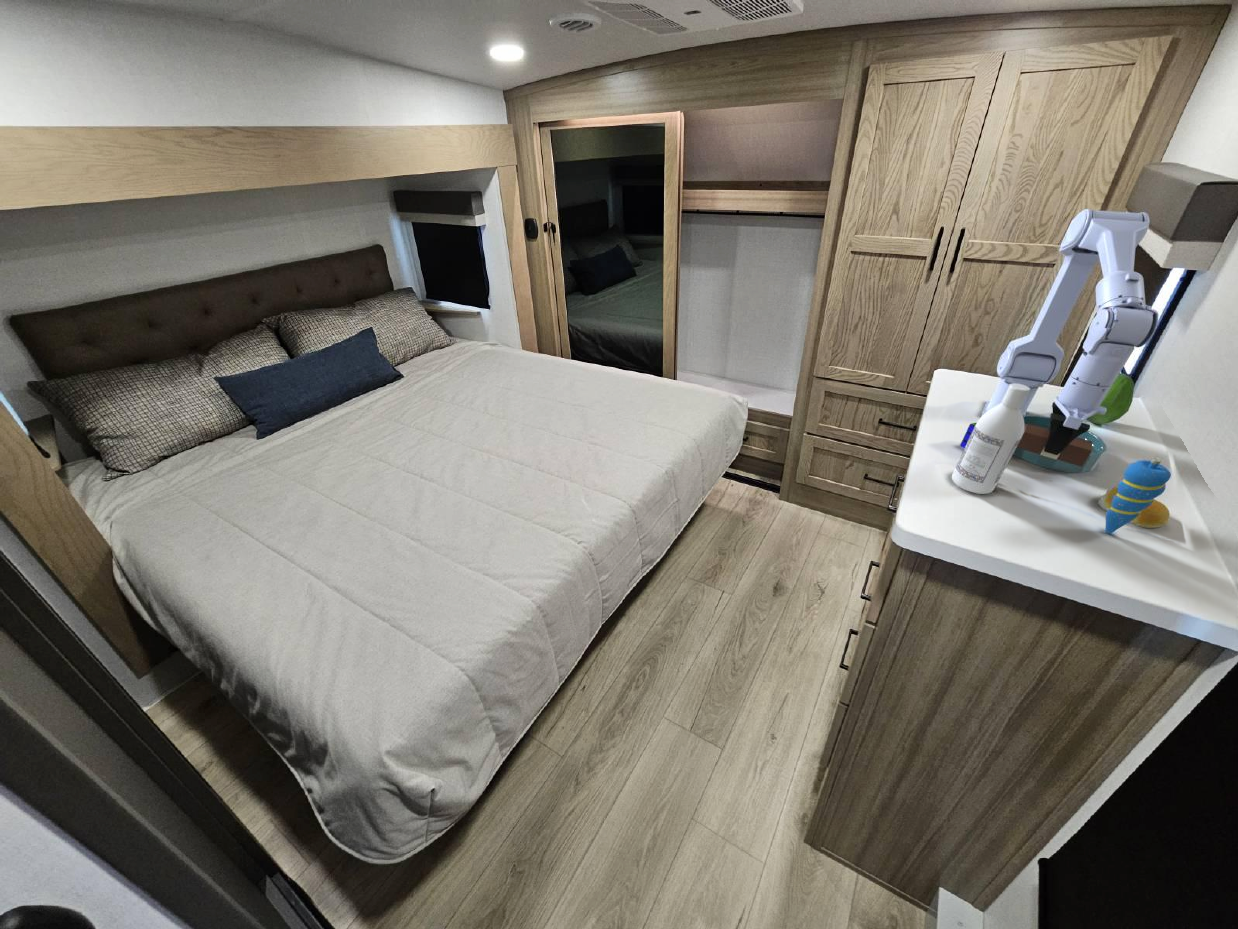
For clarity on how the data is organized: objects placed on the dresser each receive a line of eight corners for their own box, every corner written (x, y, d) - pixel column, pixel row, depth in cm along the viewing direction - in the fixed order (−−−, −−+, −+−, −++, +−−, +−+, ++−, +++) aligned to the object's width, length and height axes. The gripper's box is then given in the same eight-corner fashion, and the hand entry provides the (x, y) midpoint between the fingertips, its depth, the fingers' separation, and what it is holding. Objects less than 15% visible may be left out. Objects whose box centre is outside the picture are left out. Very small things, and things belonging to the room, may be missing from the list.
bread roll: (1159, 537, 85) (1174, 518, 82) (1092, 510, 90) (1105, 492, 88) (1167, 516, 89) (1182, 498, 87) (1103, 492, 95) (1115, 475, 93)
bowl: (1004, 425, 116) (1013, 407, 113) (1094, 450, 107) (1106, 431, 105) (994, 454, 105) (1004, 436, 103) (1093, 485, 97) (1106, 465, 94)
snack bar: (1016, 447, 96) (1024, 431, 94) (1018, 438, 99) (1026, 423, 97) (1082, 467, 91) (1092, 450, 89) (1082, 457, 94) (1092, 441, 92)
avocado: (1097, 432, 114) (1128, 382, 107) (1065, 415, 120) (1092, 367, 114) (1125, 428, 116) (1157, 379, 109) (1091, 412, 122) (1120, 365, 115)
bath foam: (979, 473, 99) (1027, 378, 88) (1001, 495, 93) (1055, 396, 82) (943, 473, 99) (987, 377, 88) (963, 494, 93) (1012, 395, 82)
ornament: (1114, 546, 83) (1172, 469, 74) (1080, 526, 87) (1131, 452, 78) (1132, 538, 84) (1191, 462, 76) (1098, 519, 88) (1150, 445, 80)
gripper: (1122, 401, 80) (1077, 472, 88) (1120, 372, 90) (1079, 439, 97) (1067, 388, 84) (1028, 457, 91) (1070, 362, 93) (1035, 427, 101)
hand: (1051, 447), depth 94 cm, fingers closed on snack bar, 4 cm apart
